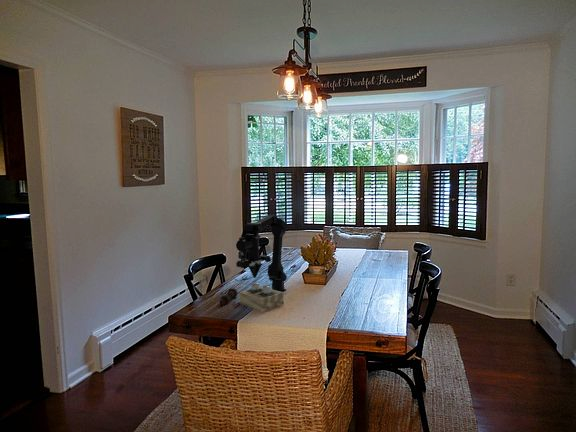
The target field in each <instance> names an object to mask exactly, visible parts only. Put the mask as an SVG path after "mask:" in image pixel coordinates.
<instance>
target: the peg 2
mask: <svg viewBox="0 0 576 432" xmlns="http://www.w3.org/2000/svg"><path fill="white" fill-rule="evenodd" d="M262 287H263V295H266V296H267V295H270V294H271V289H272V285H270V284H266V285H262Z"/></svg>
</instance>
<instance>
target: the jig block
mask: <svg viewBox="0 0 576 432" xmlns="http://www.w3.org/2000/svg"><path fill="white" fill-rule="evenodd" d="M238 294H239V304H240V305H242V306H245V307H249V308H252V309H255V310H257V311H260V312H261V311H262V312H264V311H267V310H271V309H274V308H276V307H280V306H282V305H284V304H285V303H284V301H285V299H284V291H282V292H280V291H276V290H272V288H271V294H270V295H267V296H266V295H263V286H260V285H259V291H257V292H252V290H251V288H250V289H247V290H242V291H240V292H238ZM281 304H282V305H281ZM273 307H274V308H273Z"/></svg>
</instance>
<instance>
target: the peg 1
mask: <svg viewBox="0 0 576 432" xmlns="http://www.w3.org/2000/svg"><path fill="white" fill-rule="evenodd" d="M250 286H251V287H250V289H251V290H252V292H257V291H259V286H260V283H259V282H257V281H254V282H251V284H250Z"/></svg>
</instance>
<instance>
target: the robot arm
mask: <svg viewBox="0 0 576 432" xmlns="http://www.w3.org/2000/svg"><path fill="white" fill-rule="evenodd" d="M268 226H269V227H270V232H271V233H272V236H273V242H272V255H271V256H272V258H271V256H270V255H266V254H263V255H260V252H261V251H262V250H261V249H260V247H259V246H260V245H259V243H260V242H259V238H261V235H260V233H262V230H263V229H264V228H267V227H268ZM287 226H288V225H287V223H286V221H285V220H284V219H282V218H281V217H278V216H277V215H275V214H268V215H267V216H265V217H263V218H261V219H259V220H257V221H253V222H247V223H246V224H244V227H243V229H242V233H241V236H240V237H239V238H238V240H237V241H236V244H235V246H236V247H235V248H236V249H237V251H238V253H237V257H238V260H237V261H236V263H235V264H236V265H235V266H236V267H237V268H241V269H244V268H249V270H250V272H251V275H252V277H253V278H254V279H256V278H257V276H258V275H259V274H258V273H259V271H260V269H261V267H262V265H264V264H263V263H262V262H264V261H265V262H266V263H270V262H271V263H270V264H269V265H268V266H267V276H268V280H269V281H271V289H272V290H276V291H280V292H285V291H287V289H286V288H285V282H286V280H287V279H288V278H287V277H288V275H287V274H286V273H285V271H284V265H283V264H282V252H283V251H282V250H283V239H284V238H283V237H284V235H285V234H286V232H287Z"/></svg>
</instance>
